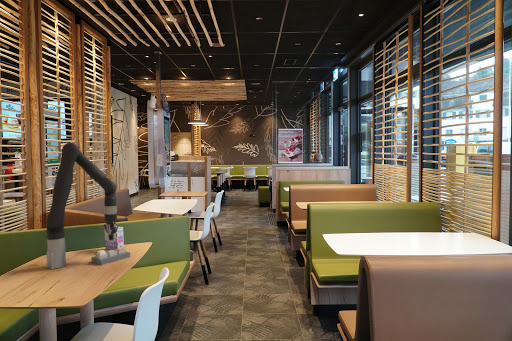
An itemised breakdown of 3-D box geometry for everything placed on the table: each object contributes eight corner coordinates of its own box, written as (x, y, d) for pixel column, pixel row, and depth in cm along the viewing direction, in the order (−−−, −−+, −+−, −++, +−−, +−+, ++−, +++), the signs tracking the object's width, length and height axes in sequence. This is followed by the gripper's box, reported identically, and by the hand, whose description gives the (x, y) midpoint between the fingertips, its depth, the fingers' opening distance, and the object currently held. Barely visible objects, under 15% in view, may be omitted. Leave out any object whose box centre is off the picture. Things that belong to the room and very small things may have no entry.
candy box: (124, 250, 246) (123, 226, 245) (117, 252, 241) (116, 228, 240) (112, 247, 253) (111, 225, 252) (104, 249, 248) (103, 226, 247)
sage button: (110, 255, 222) (109, 252, 221) (106, 254, 224) (106, 251, 224) (115, 254, 224) (115, 250, 224) (112, 253, 227) (112, 249, 226)
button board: (101, 265, 213) (100, 257, 213) (91, 262, 219) (91, 254, 219) (130, 256, 229) (130, 249, 229) (120, 254, 236) (120, 246, 235)
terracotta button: (119, 253, 227) (119, 249, 227) (116, 252, 229) (116, 248, 229) (124, 251, 230) (124, 248, 230) (121, 251, 232) (121, 247, 232)
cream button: (100, 256, 216) (99, 252, 216) (97, 255, 218) (96, 251, 218) (105, 254, 219) (105, 250, 219) (102, 253, 221) (102, 250, 221)
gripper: (99, 212, 225) (99, 239, 225) (111, 214, 217) (111, 242, 217) (110, 211, 231) (110, 237, 231) (121, 213, 223) (122, 240, 224)
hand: (111, 239), depth 224 cm, fingers closed
